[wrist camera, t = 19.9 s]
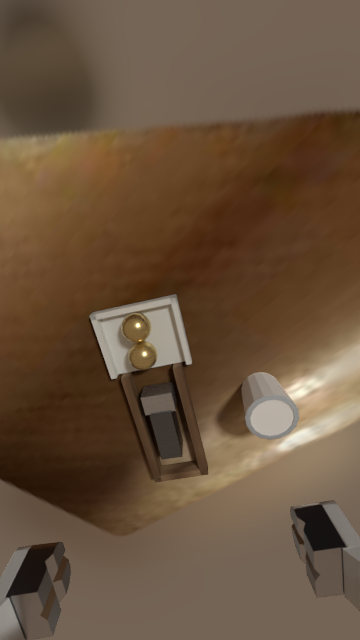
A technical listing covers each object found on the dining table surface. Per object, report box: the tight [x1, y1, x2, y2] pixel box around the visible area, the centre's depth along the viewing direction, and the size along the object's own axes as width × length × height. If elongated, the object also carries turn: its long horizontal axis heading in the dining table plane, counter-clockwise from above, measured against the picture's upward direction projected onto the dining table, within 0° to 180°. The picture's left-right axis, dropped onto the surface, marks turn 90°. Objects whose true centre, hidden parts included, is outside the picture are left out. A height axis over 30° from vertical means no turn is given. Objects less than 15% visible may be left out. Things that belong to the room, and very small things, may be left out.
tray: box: [89, 294, 192, 379], centre depth 41 cm, size 12×10×2 cm
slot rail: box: [121, 362, 208, 482], centre depth 45 cm, size 9×20×2 cm, turn 13°
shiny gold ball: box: [121, 313, 151, 343], centre depth 39 cm, size 4×4×4 cm
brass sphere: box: [128, 341, 158, 370], centre depth 40 cm, size 4×4×4 cm
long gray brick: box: [141, 382, 183, 459], centre depth 44 cm, size 4×4×11 cm
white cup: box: [241, 372, 299, 439], centre depth 41 cm, size 7×7×7 cm
